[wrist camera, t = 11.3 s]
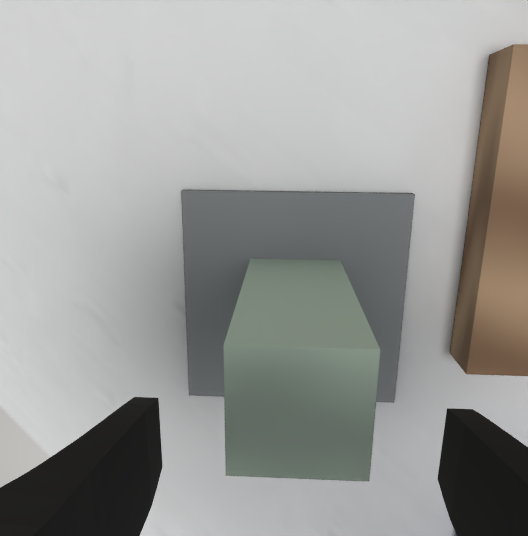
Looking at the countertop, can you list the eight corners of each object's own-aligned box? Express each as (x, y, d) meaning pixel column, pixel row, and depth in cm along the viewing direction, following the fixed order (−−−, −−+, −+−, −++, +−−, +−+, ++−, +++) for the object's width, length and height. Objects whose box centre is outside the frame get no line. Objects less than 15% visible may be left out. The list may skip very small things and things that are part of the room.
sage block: (335, 342, 21) (369, 481, 13) (250, 340, 21) (225, 475, 13) (340, 260, 20) (380, 349, 12) (250, 258, 20) (223, 345, 12)
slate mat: (392, 398, 22) (394, 402, 22) (190, 390, 23) (189, 395, 22) (412, 193, 20) (414, 194, 19) (183, 189, 20) (181, 190, 20)
